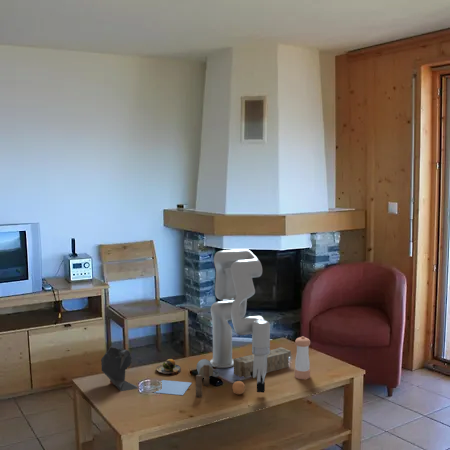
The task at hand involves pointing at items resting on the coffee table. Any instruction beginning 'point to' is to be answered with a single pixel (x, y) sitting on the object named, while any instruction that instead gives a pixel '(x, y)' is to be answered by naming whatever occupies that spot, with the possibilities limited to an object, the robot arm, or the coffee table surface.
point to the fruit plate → (169, 367)
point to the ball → (238, 387)
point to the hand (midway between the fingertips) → (260, 391)
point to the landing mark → (174, 387)
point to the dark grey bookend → (117, 367)
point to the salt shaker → (302, 358)
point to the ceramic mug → (211, 370)
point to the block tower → (274, 362)
